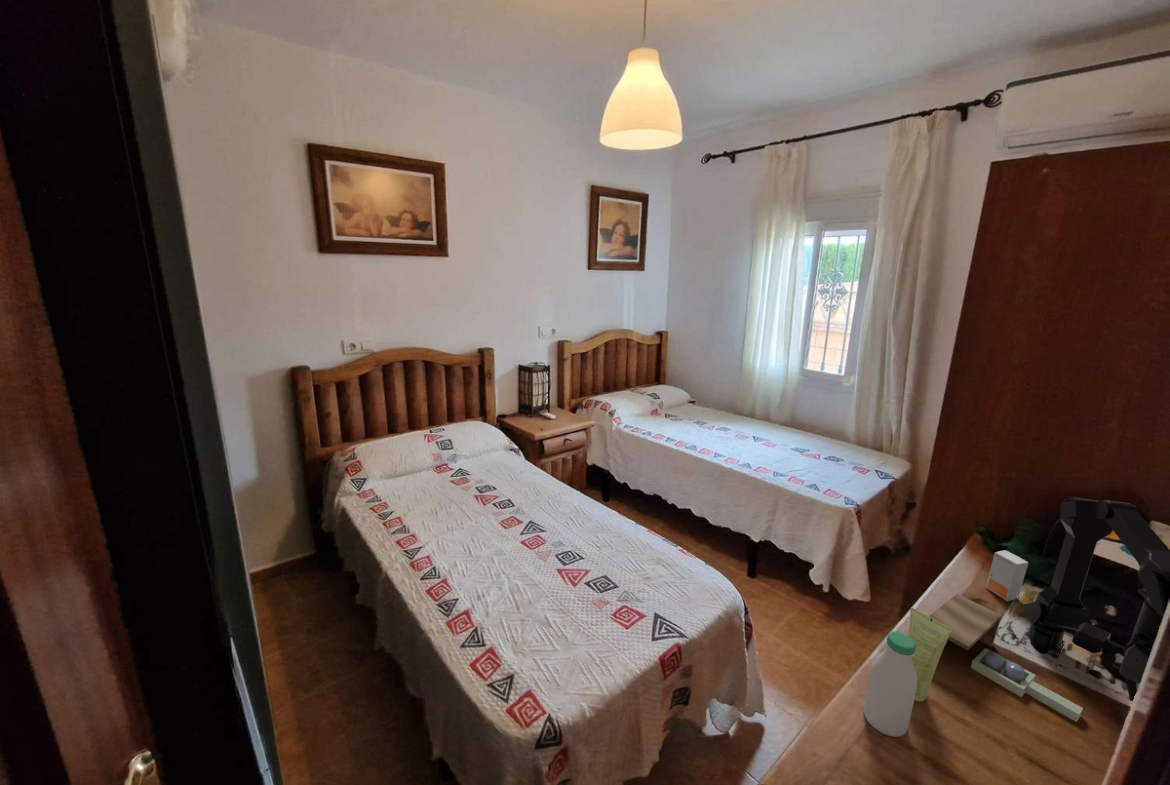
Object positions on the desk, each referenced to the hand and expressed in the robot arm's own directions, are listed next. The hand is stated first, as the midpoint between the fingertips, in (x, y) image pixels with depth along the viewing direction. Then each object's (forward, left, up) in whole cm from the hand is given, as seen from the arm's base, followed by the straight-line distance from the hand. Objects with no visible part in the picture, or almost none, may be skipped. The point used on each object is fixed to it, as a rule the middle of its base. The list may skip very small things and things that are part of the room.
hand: (1133, 700), depth 89 cm
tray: (0, -14, -11) cm, 18 cm away
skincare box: (-36, -29, -11) cm, 47 cm away
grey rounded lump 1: (0, -20, -10) cm, 22 cm away
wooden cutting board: (0, -27, -11) cm, 29 cm away
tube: (+21, -26, -11) cm, 36 cm away
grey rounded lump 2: (0, -16, -10) cm, 19 cm away
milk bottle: (+33, -26, -11) cm, 44 cm away
